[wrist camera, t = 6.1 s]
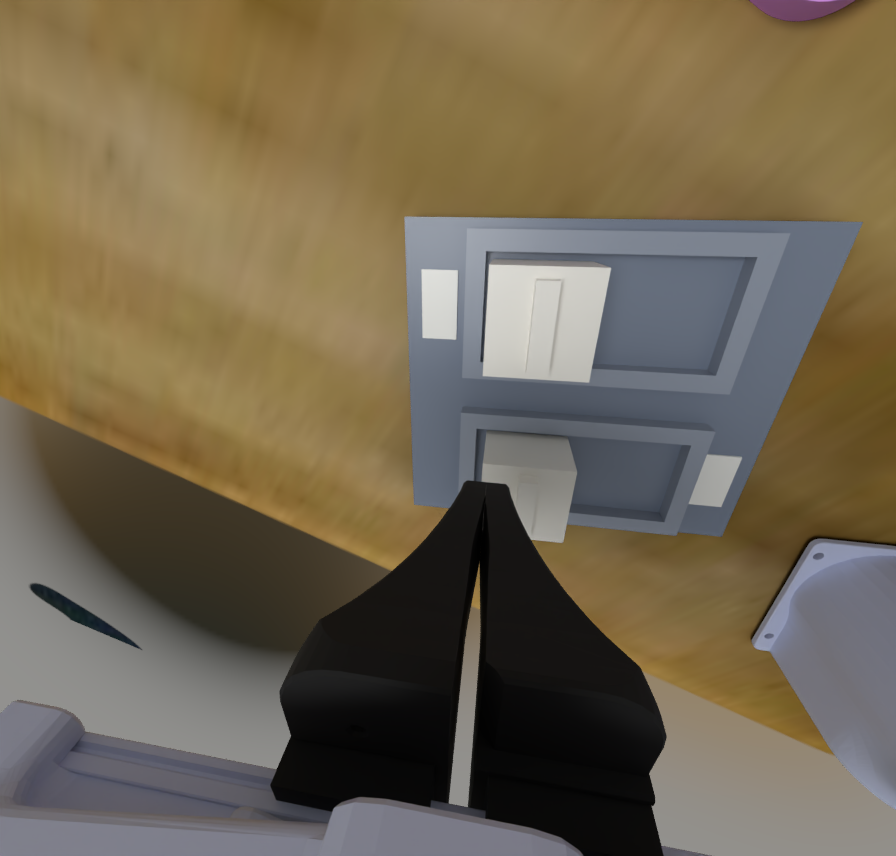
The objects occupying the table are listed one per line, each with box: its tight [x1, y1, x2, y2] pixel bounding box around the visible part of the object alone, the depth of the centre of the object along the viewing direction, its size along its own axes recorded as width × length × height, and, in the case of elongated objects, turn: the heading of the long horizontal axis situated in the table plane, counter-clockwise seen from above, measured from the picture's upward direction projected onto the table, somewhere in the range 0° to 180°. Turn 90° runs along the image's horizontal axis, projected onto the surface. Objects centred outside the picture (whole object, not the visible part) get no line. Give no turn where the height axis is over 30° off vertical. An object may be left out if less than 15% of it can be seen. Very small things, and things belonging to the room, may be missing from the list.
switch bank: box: [405, 217, 863, 537], centre depth 19 cm, size 15×17×2 cm
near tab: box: [483, 259, 611, 383], centre depth 15 cm, size 4×4×4 cm
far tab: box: [482, 430, 577, 543], centre depth 19 cm, size 4×4×4 cm
